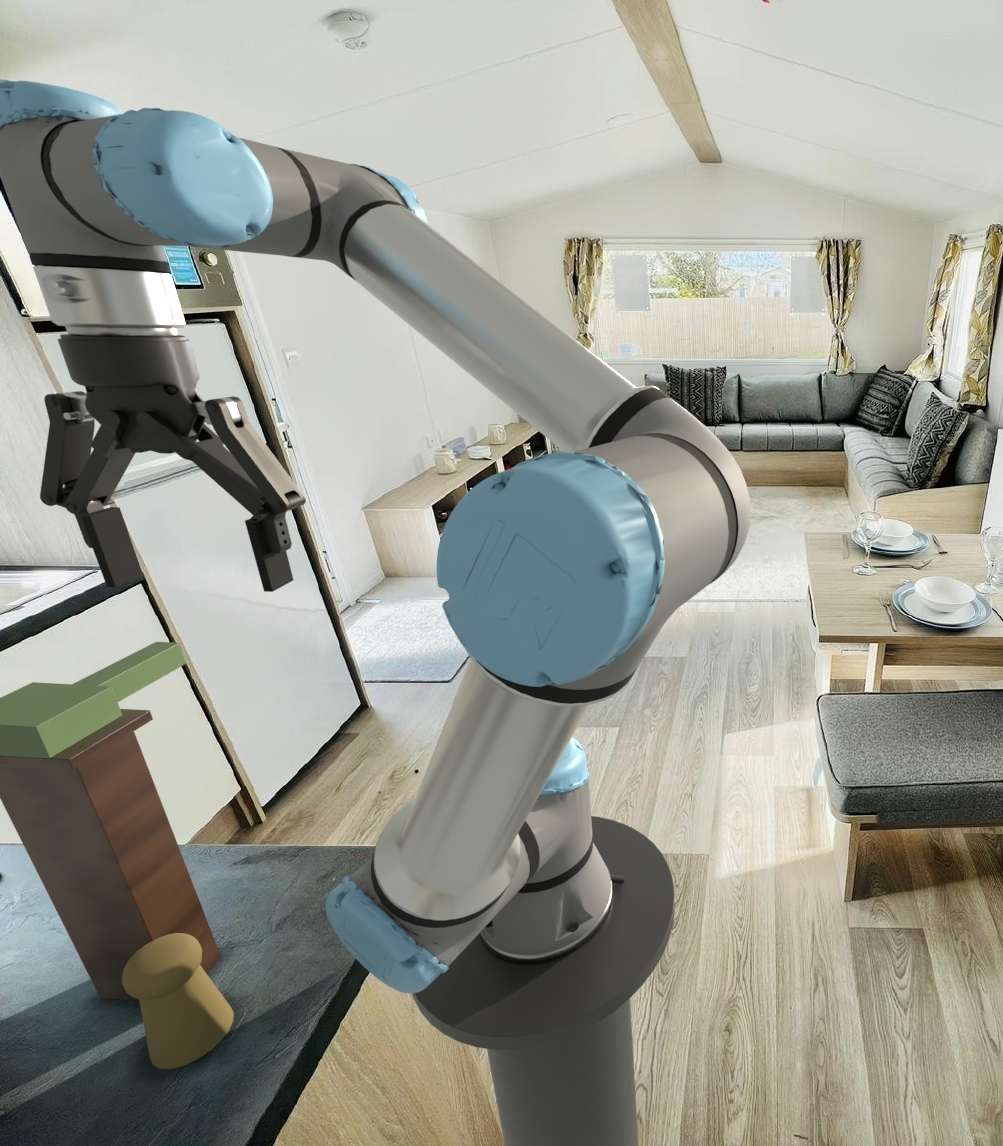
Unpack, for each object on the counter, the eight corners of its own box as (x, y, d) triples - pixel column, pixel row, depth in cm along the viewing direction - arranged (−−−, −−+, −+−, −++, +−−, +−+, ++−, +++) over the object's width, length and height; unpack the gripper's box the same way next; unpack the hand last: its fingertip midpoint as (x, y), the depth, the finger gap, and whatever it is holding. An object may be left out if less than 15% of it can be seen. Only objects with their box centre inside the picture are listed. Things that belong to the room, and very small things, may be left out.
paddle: (209, 664, 65) (200, 638, 64) (49, 758, 51) (35, 726, 50) (141, 661, 65) (131, 634, 64) (-36, 753, 51) (-52, 722, 50)
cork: (188, 1076, 57) (149, 990, 53) (131, 1061, 58) (89, 976, 54) (250, 1009, 62) (219, 927, 58) (197, 997, 63) (163, 915, 59)
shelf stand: (238, 948, 68) (150, 709, 57) (180, 1014, 62) (68, 759, 51) (146, 942, 68) (41, 704, 57) (79, 1008, 62) (-55, 752, 51)
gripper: (-101, 325, 46) (15, 596, 54) (250, 338, 46) (315, 604, 54) (12, 325, 53) (101, 564, 61) (317, 336, 53) (366, 572, 61)
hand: (202, 584), depth 57 cm, fingers open, 13 cm apart
